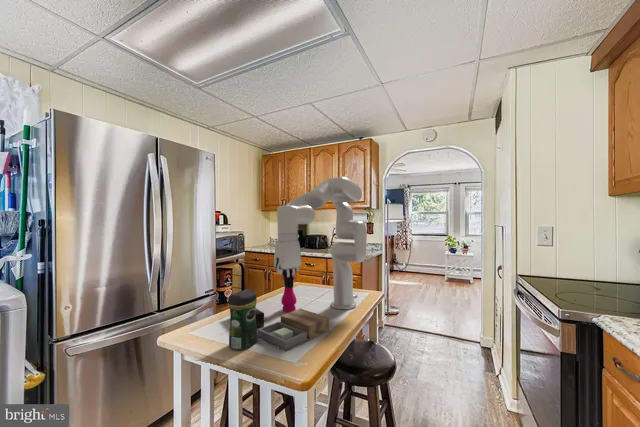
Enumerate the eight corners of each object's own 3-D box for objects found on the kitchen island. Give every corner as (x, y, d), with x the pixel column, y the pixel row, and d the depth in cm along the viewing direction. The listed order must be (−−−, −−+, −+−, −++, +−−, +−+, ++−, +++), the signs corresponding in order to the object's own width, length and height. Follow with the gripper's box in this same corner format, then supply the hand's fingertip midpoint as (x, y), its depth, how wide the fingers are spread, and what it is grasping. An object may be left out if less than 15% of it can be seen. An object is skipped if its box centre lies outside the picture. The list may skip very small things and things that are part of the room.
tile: (273, 331, 97) (273, 337, 97) (282, 335, 94) (282, 341, 94) (284, 327, 101) (284, 332, 101) (293, 331, 98) (293, 336, 98)
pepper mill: (294, 313, 124) (293, 269, 125) (279, 312, 126) (278, 269, 126) (298, 308, 131) (297, 267, 132) (284, 307, 133) (283, 266, 133)
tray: (278, 329, 106) (278, 321, 106) (307, 340, 95) (306, 332, 95) (257, 337, 99) (257, 329, 99) (285, 351, 88) (285, 342, 88)
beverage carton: (247, 314, 124) (247, 300, 124) (265, 328, 108) (265, 311, 108) (230, 318, 119) (230, 303, 119) (246, 333, 103) (246, 316, 104)
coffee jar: (244, 337, 99) (243, 286, 100) (261, 341, 96) (260, 288, 96) (224, 348, 91) (223, 293, 91) (242, 353, 87) (241, 295, 88)
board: (300, 320, 115) (300, 308, 115) (328, 330, 104) (328, 317, 104) (280, 328, 107) (280, 315, 107) (309, 339, 96) (308, 325, 96)
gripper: (295, 236, 109) (296, 281, 108) (265, 239, 98) (266, 289, 97) (308, 237, 104) (310, 284, 103) (278, 240, 93) (279, 293, 92)
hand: (289, 287), depth 100 cm, fingers closed
